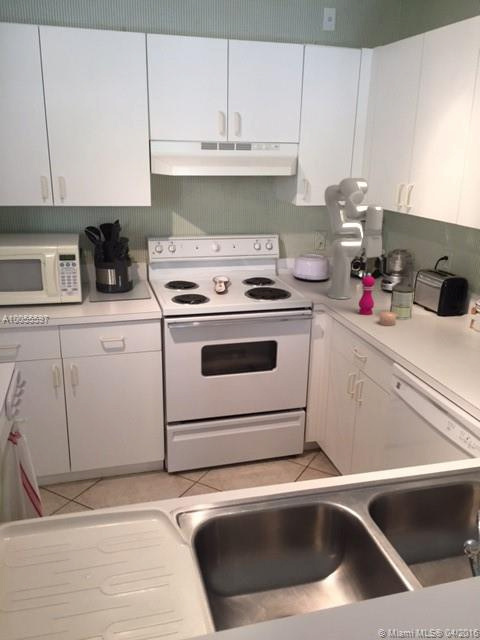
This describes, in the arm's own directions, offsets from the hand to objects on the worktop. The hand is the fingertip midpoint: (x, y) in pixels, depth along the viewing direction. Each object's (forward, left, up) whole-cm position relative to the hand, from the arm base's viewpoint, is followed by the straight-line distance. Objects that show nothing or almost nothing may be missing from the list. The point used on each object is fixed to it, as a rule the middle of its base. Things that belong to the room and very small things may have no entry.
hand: (369, 269), depth 251 cm
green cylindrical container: (+12, +11, -22) cm, 27 cm away
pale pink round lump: (+17, -3, -22) cm, 28 cm away
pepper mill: (0, 0, -22) cm, 22 cm away
